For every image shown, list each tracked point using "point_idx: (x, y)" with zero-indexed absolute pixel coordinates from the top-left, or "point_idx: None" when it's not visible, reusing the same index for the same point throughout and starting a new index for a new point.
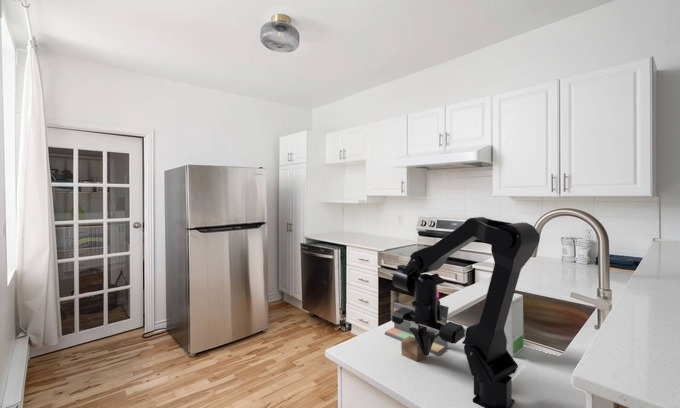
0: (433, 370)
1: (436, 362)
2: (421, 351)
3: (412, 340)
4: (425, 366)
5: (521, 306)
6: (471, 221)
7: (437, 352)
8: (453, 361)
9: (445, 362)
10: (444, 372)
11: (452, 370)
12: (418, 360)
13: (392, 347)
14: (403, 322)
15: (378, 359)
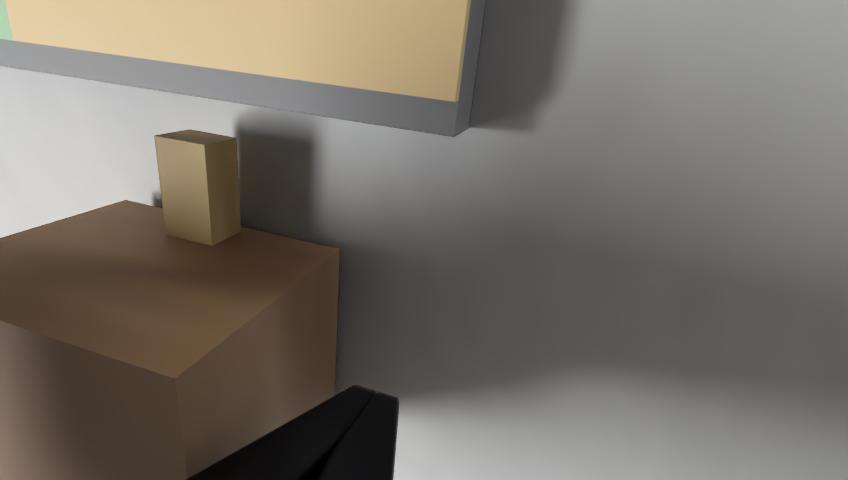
0: (556, 475)
1: (526, 293)
2: (280, 393)
3: (18, 427)
4: (443, 433)
5: None
6: None
7: (459, 108)
8: (799, 111)
9: (655, 226)
10: (703, 473)
11: (820, 392)
12: (332, 395)
13: (3, 233)
14: None
15: None
